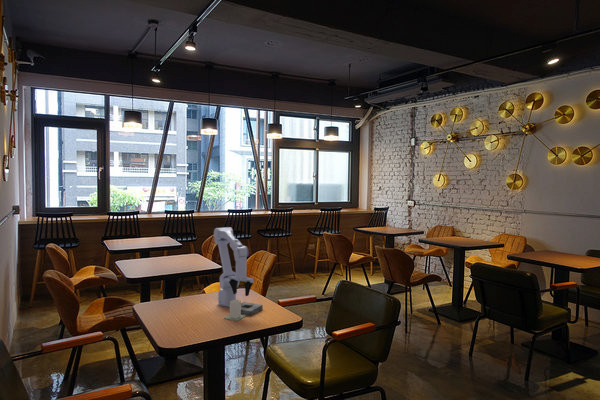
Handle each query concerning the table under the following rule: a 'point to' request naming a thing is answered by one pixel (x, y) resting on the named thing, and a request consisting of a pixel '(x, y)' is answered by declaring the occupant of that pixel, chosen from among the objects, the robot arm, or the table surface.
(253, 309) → the pocket board
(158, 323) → the table surface
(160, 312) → the table surface
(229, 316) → the mat
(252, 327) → the table surface
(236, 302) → the block
